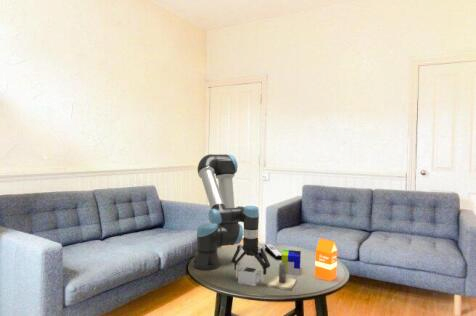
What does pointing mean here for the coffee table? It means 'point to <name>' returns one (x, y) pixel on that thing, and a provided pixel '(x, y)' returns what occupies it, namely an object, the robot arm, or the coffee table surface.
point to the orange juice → (326, 260)
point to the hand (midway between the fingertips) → (250, 278)
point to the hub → (249, 275)
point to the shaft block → (282, 279)
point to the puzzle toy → (292, 261)
